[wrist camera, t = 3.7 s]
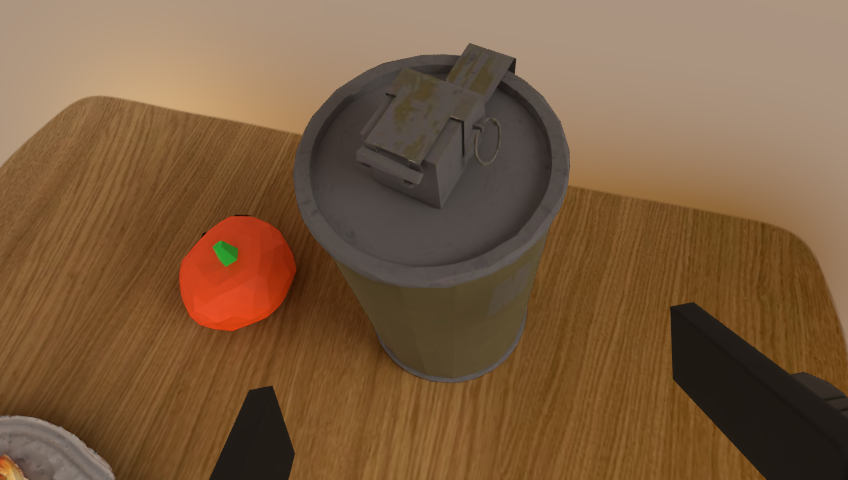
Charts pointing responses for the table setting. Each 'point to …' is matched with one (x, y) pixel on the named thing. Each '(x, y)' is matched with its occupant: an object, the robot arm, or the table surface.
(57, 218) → the table surface
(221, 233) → the pumpkin
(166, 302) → the table surface
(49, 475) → the food plate
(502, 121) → the canister
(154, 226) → the table surface
